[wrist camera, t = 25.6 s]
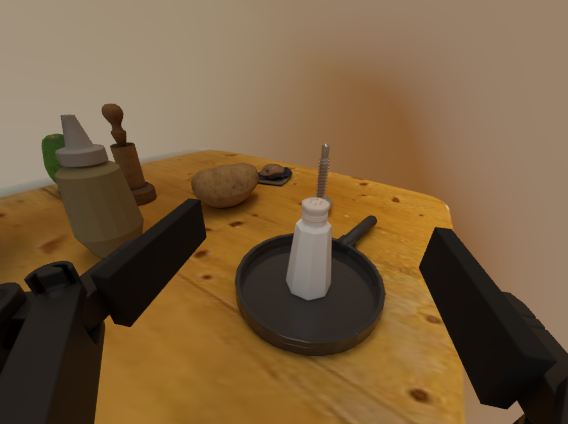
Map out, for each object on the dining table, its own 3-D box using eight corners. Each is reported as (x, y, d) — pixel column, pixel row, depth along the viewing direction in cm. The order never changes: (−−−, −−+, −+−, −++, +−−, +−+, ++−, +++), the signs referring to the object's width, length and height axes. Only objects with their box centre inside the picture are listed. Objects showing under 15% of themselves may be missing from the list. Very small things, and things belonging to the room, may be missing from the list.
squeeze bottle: (139, 225, 39) (101, 110, 31) (158, 246, 35) (120, 116, 26) (79, 246, 34) (13, 114, 26) (92, 273, 29) (17, 122, 21)
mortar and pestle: (127, 209, 44) (92, 106, 36) (115, 199, 48) (80, 103, 39) (162, 198, 49) (138, 104, 40) (148, 190, 52) (124, 102, 44)
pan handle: (347, 254, 33) (349, 244, 32) (334, 248, 34) (335, 238, 33) (378, 225, 40) (380, 216, 39) (366, 221, 41) (368, 212, 40)
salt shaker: (339, 286, 28) (355, 204, 23) (307, 309, 25) (316, 221, 20) (308, 262, 32) (315, 187, 26) (276, 280, 29) (277, 199, 23)
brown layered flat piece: (283, 187, 56) (283, 173, 54) (250, 182, 58) (250, 168, 56) (294, 173, 65) (295, 160, 63) (266, 169, 67) (266, 157, 65)
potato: (271, 200, 49) (271, 163, 45) (211, 224, 40) (205, 181, 36) (243, 187, 55) (241, 153, 51) (186, 205, 46) (178, 166, 42)
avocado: (50, 192, 50) (21, 134, 45) (90, 180, 57) (69, 129, 51) (70, 200, 47) (42, 139, 42) (110, 187, 53) (90, 132, 48)
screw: (328, 219, 43) (303, 214, 44) (333, 207, 47) (309, 203, 48) (338, 147, 37) (308, 144, 38) (342, 141, 41) (315, 139, 42)
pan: (329, 402, 18) (332, 389, 17) (207, 287, 28) (205, 275, 27) (402, 283, 29) (406, 271, 28) (297, 231, 39) (297, 221, 38)
